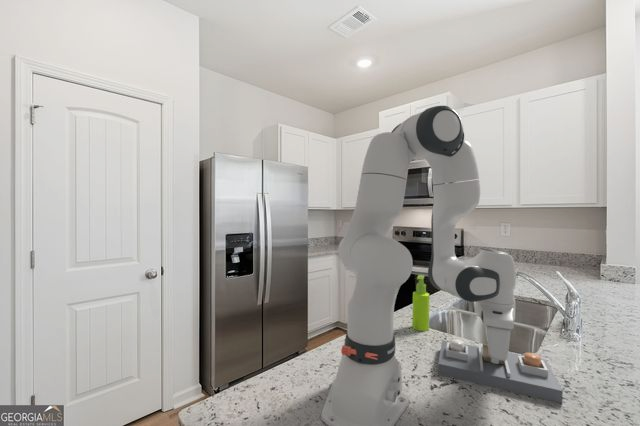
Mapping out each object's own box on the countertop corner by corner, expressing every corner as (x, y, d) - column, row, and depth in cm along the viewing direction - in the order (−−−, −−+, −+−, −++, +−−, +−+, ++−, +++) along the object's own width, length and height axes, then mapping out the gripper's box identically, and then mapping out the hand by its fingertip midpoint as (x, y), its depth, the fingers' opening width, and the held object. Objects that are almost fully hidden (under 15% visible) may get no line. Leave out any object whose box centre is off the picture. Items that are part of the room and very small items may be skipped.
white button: (464, 353, 84) (464, 345, 84) (450, 350, 86) (450, 343, 86) (464, 348, 87) (464, 340, 87) (450, 345, 89) (450, 338, 89)
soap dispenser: (410, 330, 110) (411, 276, 110) (414, 323, 117) (414, 272, 116) (427, 333, 108) (427, 278, 107) (429, 326, 114) (430, 274, 113)
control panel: (562, 403, 70) (562, 383, 70) (438, 374, 82) (438, 357, 81) (545, 369, 84) (546, 353, 84) (442, 349, 96) (442, 334, 96)
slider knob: (503, 364, 81) (503, 353, 81) (483, 360, 83) (483, 349, 83) (501, 357, 84) (502, 347, 84) (482, 354, 86) (482, 343, 86)
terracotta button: (542, 369, 76) (542, 360, 76) (525, 365, 78) (525, 357, 78) (539, 362, 80) (539, 354, 80) (523, 359, 81) (523, 351, 81)
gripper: (480, 297, 91) (479, 342, 91) (483, 320, 72) (482, 377, 73) (504, 300, 88) (504, 347, 88) (514, 325, 70) (513, 384, 70)
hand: (494, 361), depth 80 cm, fingers closed
